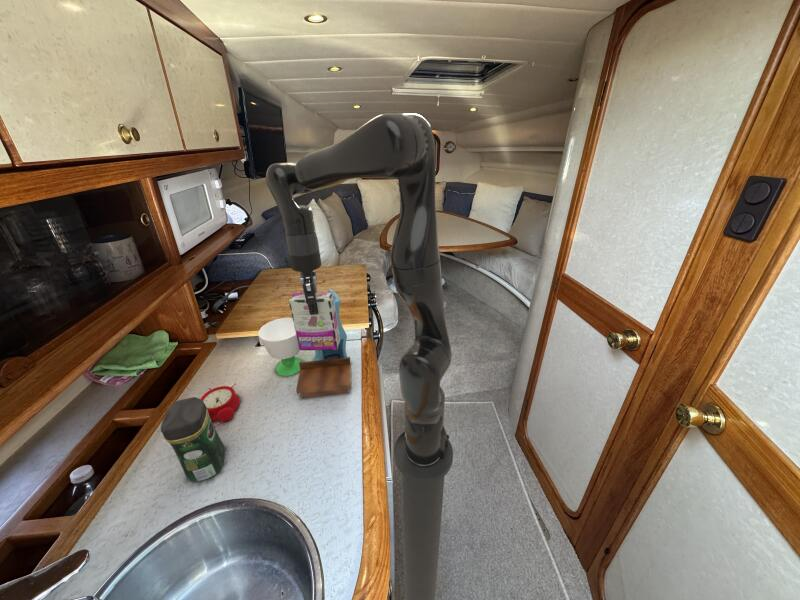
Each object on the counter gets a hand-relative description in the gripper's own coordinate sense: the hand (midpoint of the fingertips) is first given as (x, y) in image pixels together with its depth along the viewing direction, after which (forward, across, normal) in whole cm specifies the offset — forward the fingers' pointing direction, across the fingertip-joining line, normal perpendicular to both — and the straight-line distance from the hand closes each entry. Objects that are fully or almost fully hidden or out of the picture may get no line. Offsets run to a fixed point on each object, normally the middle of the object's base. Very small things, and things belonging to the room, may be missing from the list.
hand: (313, 308), depth 86 cm
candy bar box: (+13, 0, 0) cm, 13 cm away
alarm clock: (+28, -2, +31) cm, 42 cm away
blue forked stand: (+29, +12, -2) cm, 31 cm away
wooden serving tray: (+28, 0, 0) cm, 28 cm away
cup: (+29, +13, +12) cm, 33 cm away
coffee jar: (+29, -19, +30) cm, 46 cm away
